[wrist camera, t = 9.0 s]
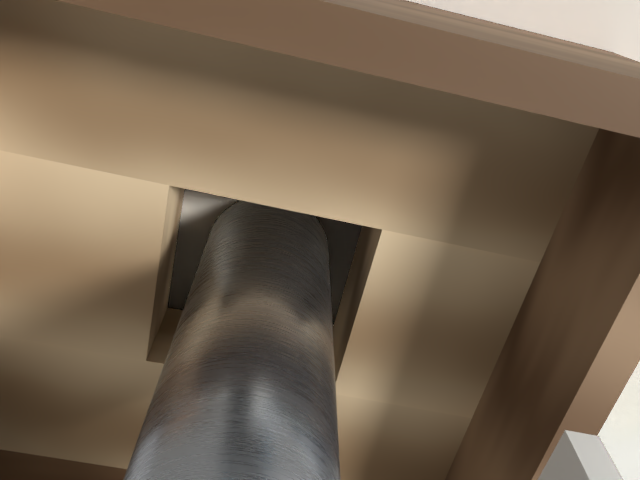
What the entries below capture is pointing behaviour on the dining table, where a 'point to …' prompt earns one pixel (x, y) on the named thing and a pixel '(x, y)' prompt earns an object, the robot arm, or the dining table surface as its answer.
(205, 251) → the peg
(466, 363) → the box
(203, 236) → the dining table surface
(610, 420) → the dining table surface
